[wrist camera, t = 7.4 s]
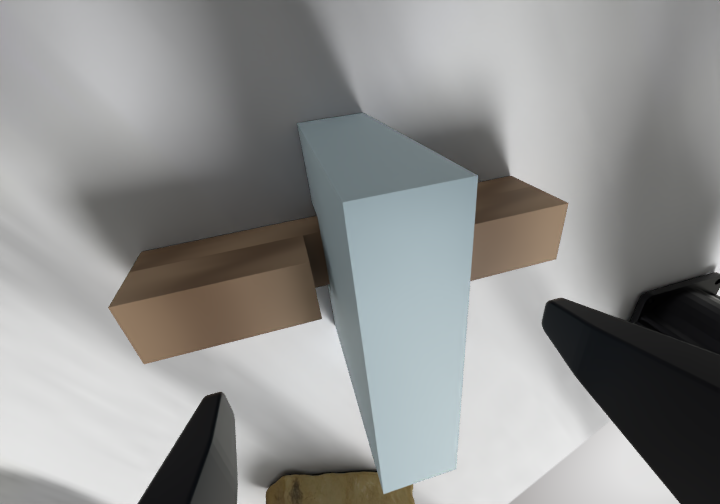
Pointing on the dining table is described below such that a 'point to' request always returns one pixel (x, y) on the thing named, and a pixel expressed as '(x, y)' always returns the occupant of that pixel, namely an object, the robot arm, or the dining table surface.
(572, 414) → the dining table surface
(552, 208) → the walnut rail
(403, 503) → the rock
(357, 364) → the blue-grey rectangular slab
